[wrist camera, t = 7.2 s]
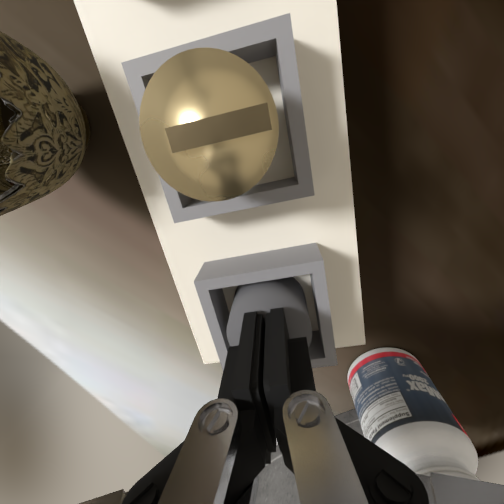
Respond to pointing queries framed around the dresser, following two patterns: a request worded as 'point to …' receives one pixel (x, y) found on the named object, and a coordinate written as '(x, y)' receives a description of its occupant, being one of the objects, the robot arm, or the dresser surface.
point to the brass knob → (209, 124)
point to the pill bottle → (409, 414)
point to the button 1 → (271, 306)
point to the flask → (282, 479)
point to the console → (275, 179)
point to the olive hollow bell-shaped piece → (36, 127)
